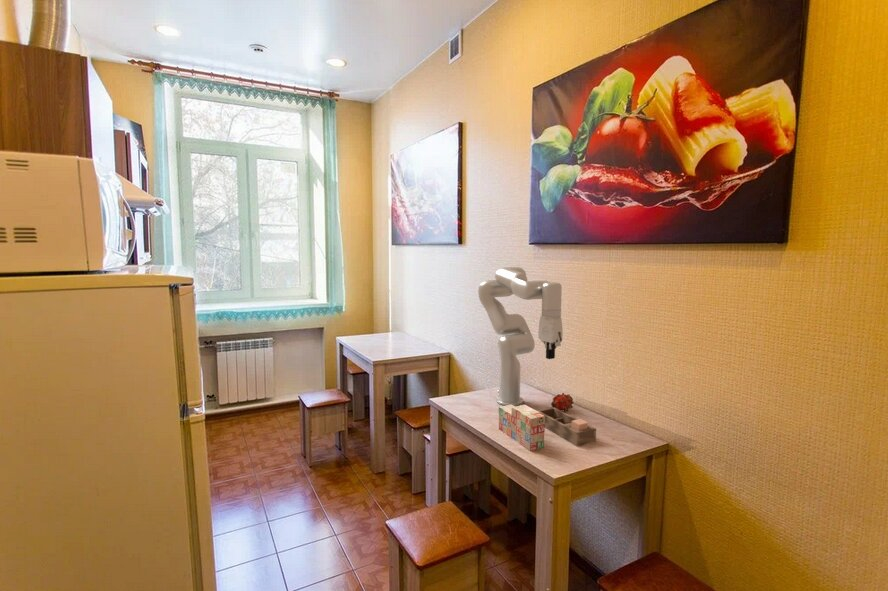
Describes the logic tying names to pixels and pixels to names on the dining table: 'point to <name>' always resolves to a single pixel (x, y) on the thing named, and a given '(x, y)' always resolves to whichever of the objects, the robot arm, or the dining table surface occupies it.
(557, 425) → the box
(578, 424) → the terracotta block
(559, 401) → the dragon fruit
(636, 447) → the dining table surface
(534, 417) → the stack of blocks
